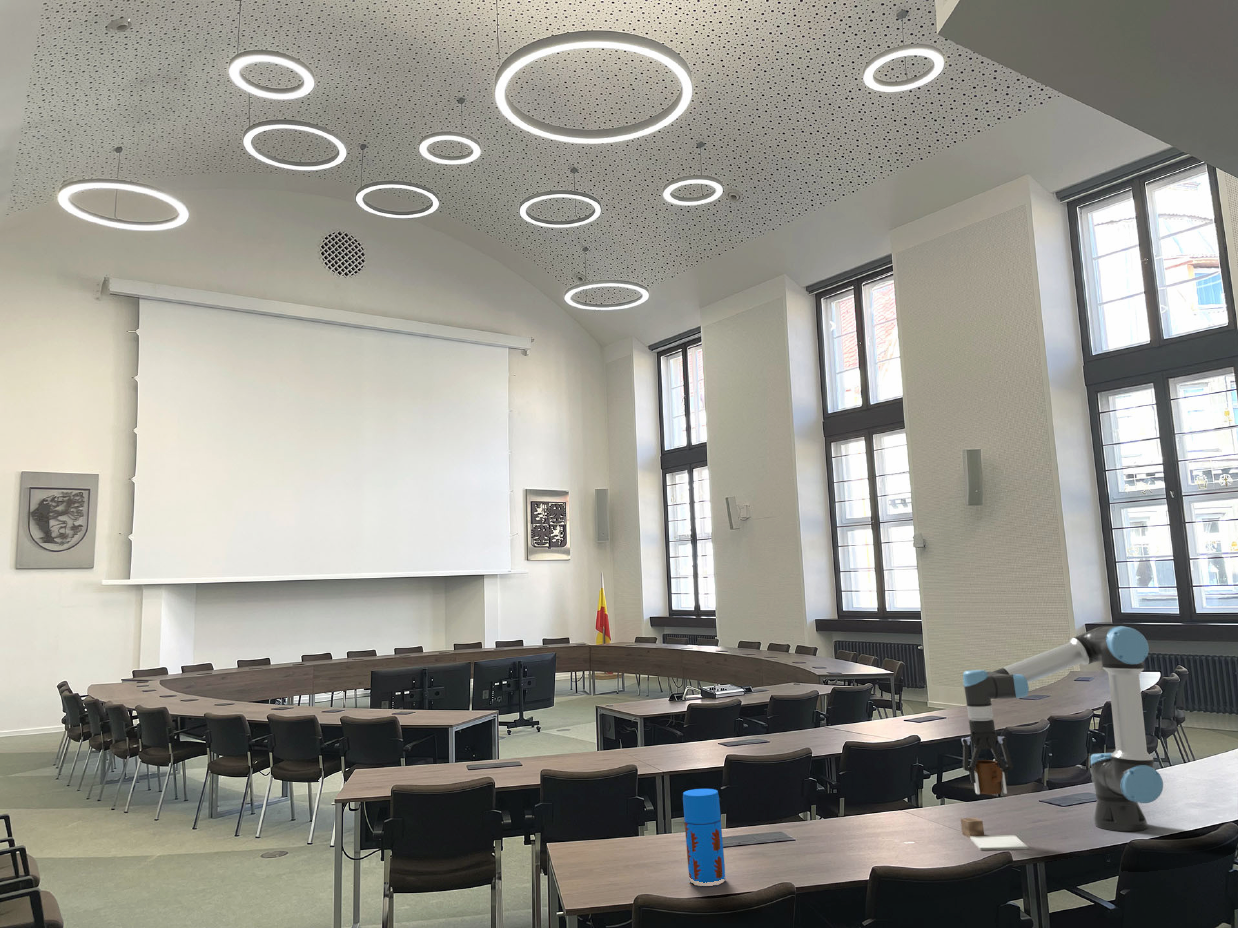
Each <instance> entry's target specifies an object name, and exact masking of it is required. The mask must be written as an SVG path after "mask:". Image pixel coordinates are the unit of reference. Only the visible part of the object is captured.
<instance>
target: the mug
mask: <svg viewBox="0 0 1238 928" xmlns="http://www.w3.org/2000/svg"><path fill="white" fill-rule="evenodd" d="M974 772H977V775H978V783H979V790H980V795H981V794H982V795H999V794H1001V793H1003V792H1002V786H1001V780H1002V778H1003V773H1002V769H1001V767H1000V765H999V763H998V762H997V760H990V759H981V760H980V759H979V760H977V764H976V768H975V771H974Z"/></svg>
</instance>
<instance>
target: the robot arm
mask: <svg viewBox="0 0 1238 928" xmlns="http://www.w3.org/2000/svg"><path fill="white" fill-rule="evenodd" d="M1149 651H1150V648H1149V643H1148V640H1147V639H1146V638H1145V636H1144V635H1143V634H1142V633H1141V632H1140V631H1139V630H1137V629H1135V628H1133V627H1128V626H1123V625H1120V626H1118V625H1117V626H1114V625H1113V626H1111V625H1110V626H1107V625H1106V626H1099V627H1095V628H1093V629H1090V630H1089V631H1086V632H1084V633H1082V634H1079V635H1077V636H1074V637H1071V638H1070V640H1069V642H1068V643H1065V644H1062V645H1059V646H1056V647H1055V648H1052V649H1049V650H1046V651H1043V652H1040V653H1039V654H1036V655H1033V656H1030V657H1027V658H1025V659H1022V660H1019V661H1017V662H1015V663H1014V662H1013V663H1011V664H1009V665H1007V666H1004V667H1002V668H998V669H996V670H993V671H987V670H983V669H972V670H965V671H964V672H963V674H962V676H963V677H962V680H963V681H962V682H963V688H964V689H963V690H964V694H965V700H966V708H967V717H968V719H969V720H968V725H969V733H970V734H969V737H961V738H960V740H961V744H962V770H964V771H966V772H968V773H969V778H970V779H969V780H970V781H971V784H974V792H975V794H976V795H981V793H980V790H979V783H978V775H977V772H974V771H975V768H976V764H977V761H978V759H979V755H980V753H981V750H985V749H986V750H990V751H991V753H992V754H993V756H994V758H995V759H996V760H995V761H997V762H998V766H999V767H1000V768H1001V770H1002V773H1003V778H1002V780H1001V787H1002V792H1001V793H1003V794H1007V795H1008V790H1007V783H1008V782H1009V775H1008V773H1009V772H1008V771H1009V770H1013V769H1014V765H1013V762H1012V759H1011V756H1010V752H1009V749H1008V746H1007V745H1008V744H1007V743H1008V739H1007V737H1005V736H998V735H997V732H996V727H995V720H994V719H993V718H994V713H993V708H992V707H993V705H992V704H993V703H992V700H1001V699H1002V700H1004V699H1005V700H1006V699H1008V700H1009V699H1016V700H1017V699H1022V698H1026V697H1027V696H1028V695H1029V688H1030V687H1029V684H1030V683H1033V682H1036V681H1038V680H1040V679H1043V678H1046V677H1049V676H1051V675H1054V674H1056V673H1057V674H1058V673H1060V672H1063V671H1065V670H1068V669H1071V668H1073V667H1075V666H1079V665H1080V664H1081V665H1083V666H1087V665H1090V664H1093V663H1100V662H1101V665H1102V669H1103V670H1104V671H1105V672H1106V673H1107V674H1108V682H1109V684H1108V685H1109V693H1110V694H1109V695H1110V703H1111V713H1112V725H1113V733H1114V734H1113V735H1114V744H1115V745H1114V746H1115V749H1114V751H1113V752H1104V753H1103V752H1102V753H1099V752H1098V753H1092V754H1091V755H1090V768H1091V773H1092V778H1093V779H1092V780H1093V785H1094V791H1095V796H1096V804H1095V810H1094V815H1093V821H1094V825H1095V826H1096V827H1098V828H1100V829H1104V830H1110V831H1117V832H1138V831H1142V830H1143V831H1144V830H1146V829H1148V821H1147V818H1146V817H1145V814H1144V813H1143V810H1142V808H1141V806H1140V805H1139V804H1149V803H1150V804H1151V803H1153V802H1154V801H1156V800H1157V799H1158V798H1159V797H1160V796H1161V795H1162V792H1163V789H1164V781H1163V778H1162V776H1161V774H1160V773H1159V771H1157V769H1155V762H1154V756H1152V755H1151V754H1150V753H1149V752H1148V751H1147V750H1148V748H1147V747H1148V746H1147V741H1146V740H1147V739H1146V738H1147V737H1146V730H1145V721H1144V711H1143V710H1144V709H1143V700H1142V699H1143V698H1142V692H1141V691H1142V690H1141V682H1140V681H1141V680H1140V674H1141V673H1142V672H1143V671H1144V670H1145V667H1144V661H1145V660H1146V658H1147V657H1148V655H1149ZM997 741H998V743H999V744H1000V747H1001V750H1002V751H1001V752H1002V753H1003V756H1004V758H1003V759H1004V761H1005V762H1004V761H1003V759H1002V757H1001V755H1000V753H999V751H998V750H997V748H996V746H995V745H996V743H997ZM970 742H972V744H974V745H973V753H972V756H971V759H970V758H969V754H970V753H969V752H970V751H969V748H970V747H969V746H970V744H971V743H970ZM969 759H970V762H969ZM969 763H970V764H969Z"/></svg>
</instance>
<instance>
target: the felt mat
mask: <svg viewBox="0 0 1238 928" xmlns="http://www.w3.org/2000/svg"><path fill="white" fill-rule="evenodd" d="M969 839H970V840H971V842H972V843H973V844H974V845H975V846H976V847H977V849H979V850H980V851H1006V850H1007V851H1011V850H1015V851H1016V850H1017V851H1018V850H1029V846H1028V845H1026V844H1025V843H1024V841H1023V842H1022V839H1021V840H1020V839H1019V837H1017V835H1015V834H1010V835H984V836H970V838H969Z"/></svg>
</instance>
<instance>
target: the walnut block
mask: <svg viewBox="0 0 1238 928" xmlns="http://www.w3.org/2000/svg"><path fill="white" fill-rule="evenodd" d="M983 822H984V821H983V820H982V819H979V818H977V817H966V818H965V817H964V818H960V824H961V825H960V827H961V831H962V835H963V836H965V837H967V838H969V839H970V836H985V830H984V823H983Z"/></svg>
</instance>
